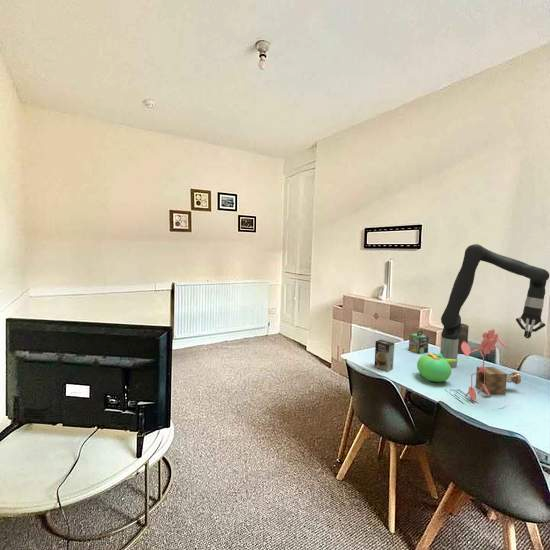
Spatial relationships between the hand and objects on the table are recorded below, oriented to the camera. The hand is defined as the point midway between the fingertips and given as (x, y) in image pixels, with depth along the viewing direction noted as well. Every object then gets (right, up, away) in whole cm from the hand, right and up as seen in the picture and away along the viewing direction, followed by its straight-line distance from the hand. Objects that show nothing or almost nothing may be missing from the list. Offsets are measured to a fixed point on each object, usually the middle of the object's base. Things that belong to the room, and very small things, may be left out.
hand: (527, 338), depth 168 cm
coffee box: (-69, -22, +21) cm, 76 cm away
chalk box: (-35, -20, +51) cm, 65 cm away
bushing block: (-24, -25, -7) cm, 36 cm away
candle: (-6, -20, +49) cm, 54 cm away
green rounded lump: (-47, -24, +5) cm, 53 cm away
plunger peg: (-17, -22, -7) cm, 29 cm away
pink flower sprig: (-34, -27, -18) cm, 47 cm away
